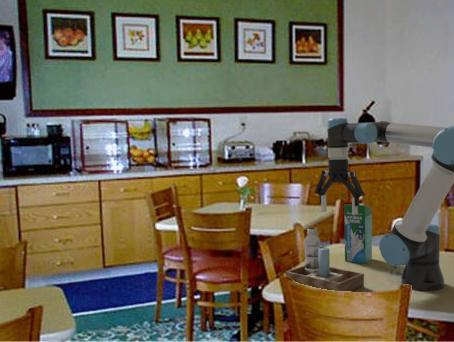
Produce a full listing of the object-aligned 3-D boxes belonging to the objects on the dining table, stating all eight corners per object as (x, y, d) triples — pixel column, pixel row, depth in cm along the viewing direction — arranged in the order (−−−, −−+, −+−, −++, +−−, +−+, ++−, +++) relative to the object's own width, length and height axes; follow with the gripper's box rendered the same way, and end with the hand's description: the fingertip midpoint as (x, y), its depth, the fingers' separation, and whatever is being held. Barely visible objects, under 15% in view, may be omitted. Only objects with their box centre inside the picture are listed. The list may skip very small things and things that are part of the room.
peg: (331, 282, 218) (331, 248, 216) (325, 285, 215) (325, 250, 213) (323, 280, 220) (322, 247, 219) (316, 283, 218) (316, 249, 216)
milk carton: (372, 258, 254) (371, 202, 251) (365, 263, 246) (364, 205, 244) (352, 256, 259) (351, 200, 256) (344, 261, 251) (344, 204, 249)
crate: (363, 286, 215) (363, 273, 214) (339, 297, 204) (339, 283, 203) (311, 275, 232) (310, 263, 231) (285, 284, 220) (285, 271, 220)
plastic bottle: (315, 282, 221) (315, 231, 219) (300, 279, 226) (300, 229, 224) (324, 278, 226) (324, 228, 224) (310, 275, 231) (309, 226, 229)
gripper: (372, 158, 218) (373, 214, 220) (315, 157, 234) (316, 209, 236) (362, 160, 212) (363, 217, 214) (305, 158, 229) (306, 211, 231)
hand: (339, 213), depth 225 cm, fingers open, 13 cm apart
